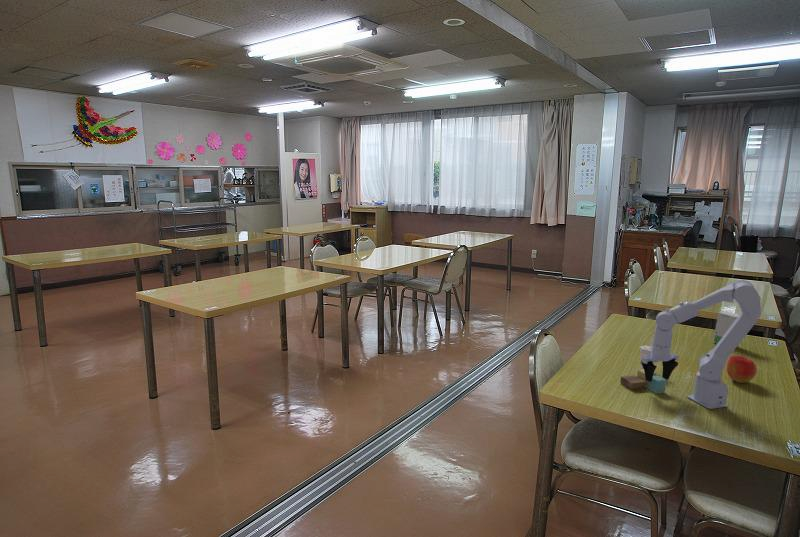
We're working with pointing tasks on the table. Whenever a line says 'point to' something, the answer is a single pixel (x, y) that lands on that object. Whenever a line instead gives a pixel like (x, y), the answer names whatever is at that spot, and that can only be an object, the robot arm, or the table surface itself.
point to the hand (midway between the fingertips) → (656, 379)
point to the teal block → (657, 384)
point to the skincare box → (723, 324)
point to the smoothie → (645, 351)
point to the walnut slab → (633, 382)
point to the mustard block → (642, 375)
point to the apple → (741, 369)
